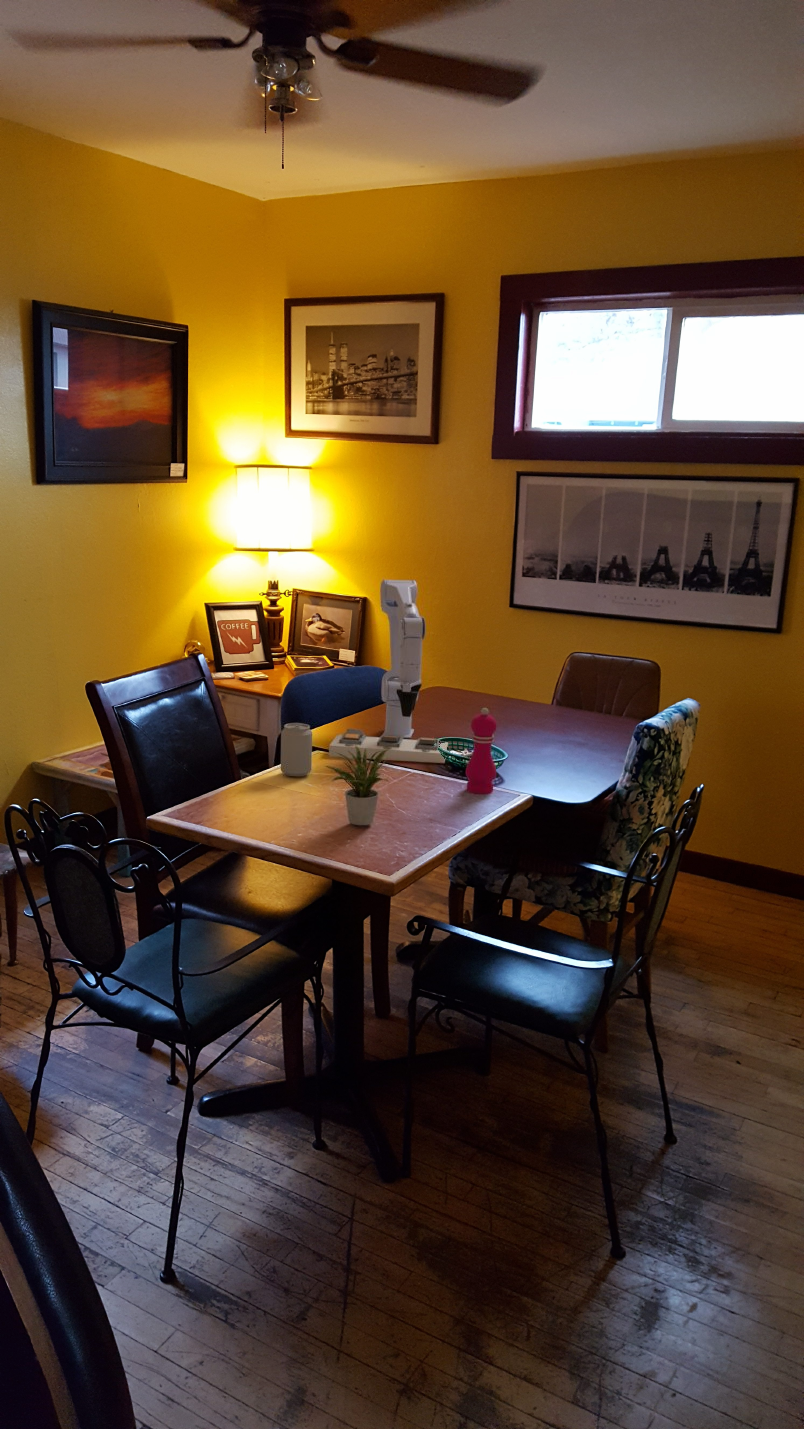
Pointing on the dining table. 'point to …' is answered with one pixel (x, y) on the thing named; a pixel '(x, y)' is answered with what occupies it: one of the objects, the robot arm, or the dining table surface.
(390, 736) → the rocker
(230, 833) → the dining table surface
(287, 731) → the can
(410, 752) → the power strip
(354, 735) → the rocker
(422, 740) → the rocker
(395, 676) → the robot arm
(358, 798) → the house plant
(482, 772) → the pepper mill
